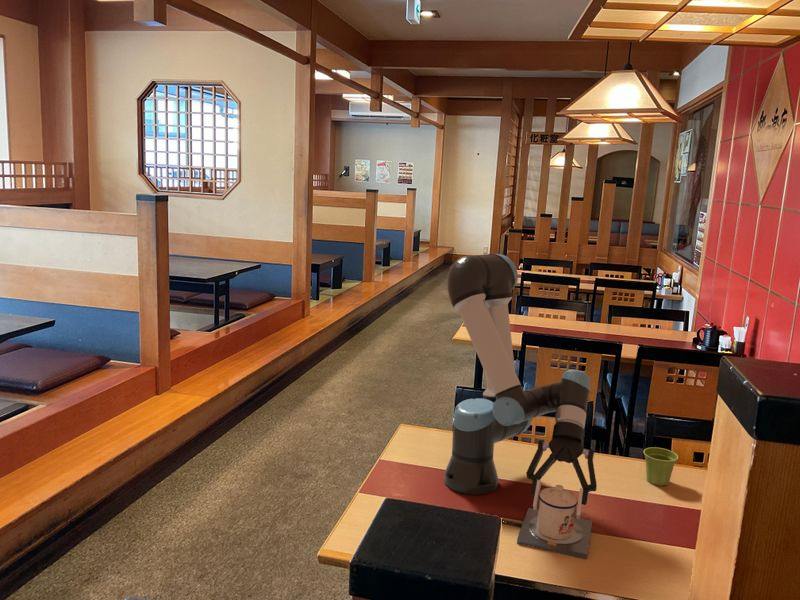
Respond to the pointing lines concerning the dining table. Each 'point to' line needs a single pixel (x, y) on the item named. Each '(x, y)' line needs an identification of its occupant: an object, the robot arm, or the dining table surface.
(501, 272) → the robot arm
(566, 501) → the teacup with lid
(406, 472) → the dining table surface
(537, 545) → the cup warmer plate
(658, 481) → the plant pot
